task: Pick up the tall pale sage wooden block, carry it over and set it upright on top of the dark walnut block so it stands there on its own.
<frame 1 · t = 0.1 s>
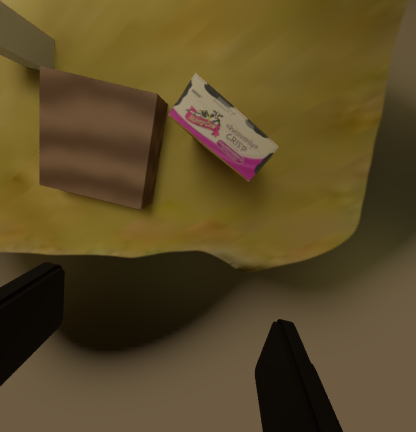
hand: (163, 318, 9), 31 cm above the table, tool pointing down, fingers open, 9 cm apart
walnut block: (113, 145, 38), on the table
candy bar box: (223, 143, 36), on the table
sage block: (40, 53, 35), on the table
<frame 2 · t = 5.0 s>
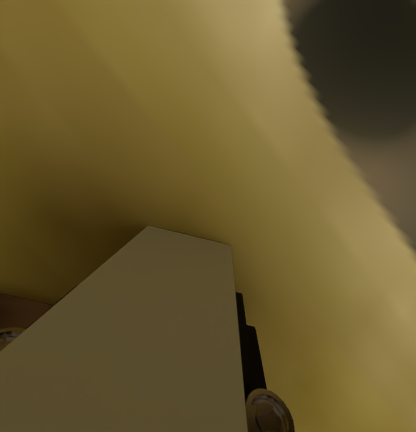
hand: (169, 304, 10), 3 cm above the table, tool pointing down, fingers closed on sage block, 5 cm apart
walnut block: (11, 380, 17), on the table
sage block: (181, 272, 13), on the table, touching gripper
when the fingers open (10 cm above the table, at t = 13.4 s): sage block drops 1 cm, point 6 cm above the table.
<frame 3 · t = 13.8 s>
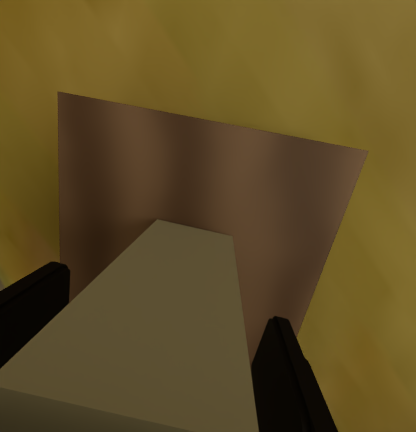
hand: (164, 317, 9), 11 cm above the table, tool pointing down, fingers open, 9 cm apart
walnut block: (196, 231, 20), on the table
sage block: (187, 261, 14), point 6 cm above the table
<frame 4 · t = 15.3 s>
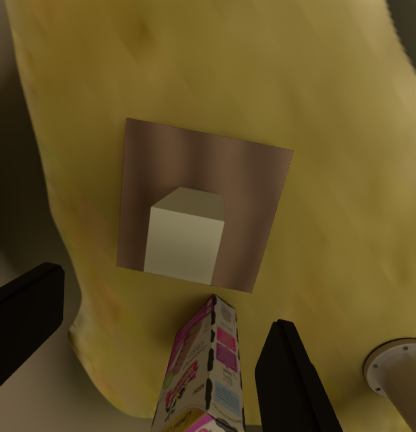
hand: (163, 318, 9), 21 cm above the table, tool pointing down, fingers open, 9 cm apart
walnut block: (200, 203, 30), on the table, touching sage block
candy bar box: (204, 320, 35), on the table
sage block: (197, 211, 24), point 5 cm above the table, touching walnut block
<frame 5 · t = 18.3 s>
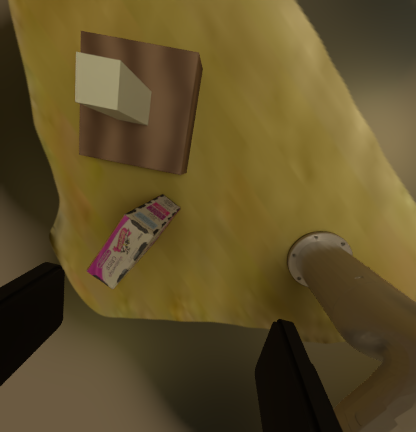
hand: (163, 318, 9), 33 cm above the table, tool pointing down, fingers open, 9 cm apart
walnut block: (147, 115, 38), on the table
candy bar box: (157, 219, 43), on the table
sage block: (134, 105, 32), point 6 cm above the table
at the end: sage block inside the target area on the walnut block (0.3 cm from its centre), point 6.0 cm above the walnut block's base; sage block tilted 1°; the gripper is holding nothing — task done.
